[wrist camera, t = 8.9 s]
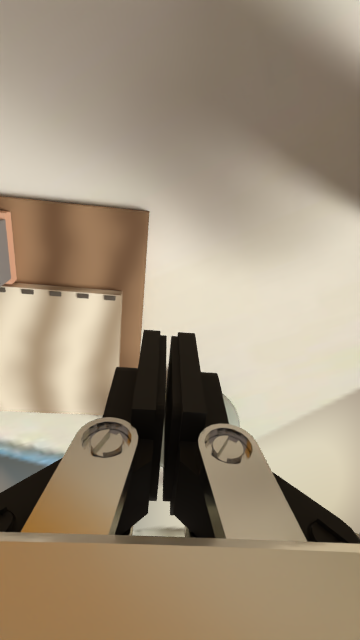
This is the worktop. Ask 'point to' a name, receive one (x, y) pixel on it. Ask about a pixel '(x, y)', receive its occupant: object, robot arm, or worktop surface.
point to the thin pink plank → (6, 250)
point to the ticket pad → (70, 304)
